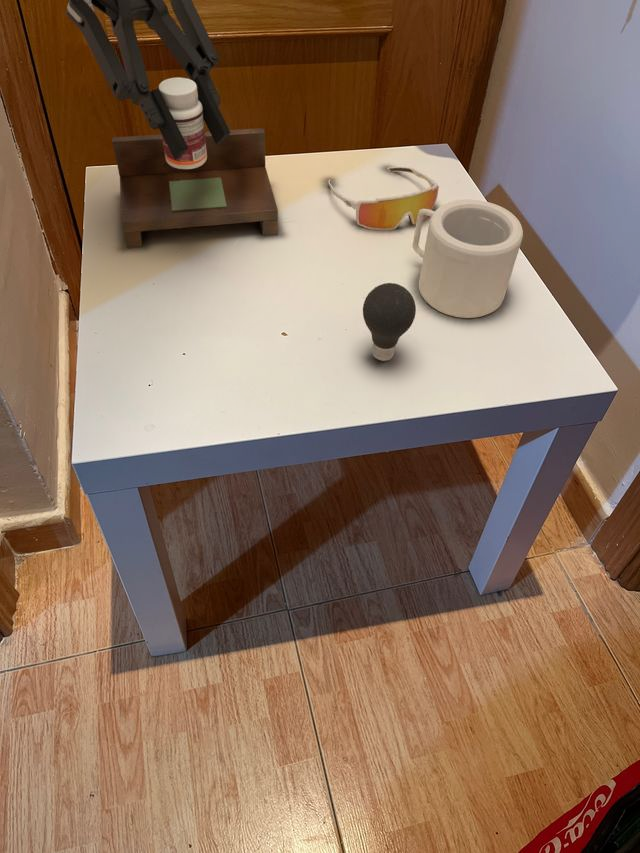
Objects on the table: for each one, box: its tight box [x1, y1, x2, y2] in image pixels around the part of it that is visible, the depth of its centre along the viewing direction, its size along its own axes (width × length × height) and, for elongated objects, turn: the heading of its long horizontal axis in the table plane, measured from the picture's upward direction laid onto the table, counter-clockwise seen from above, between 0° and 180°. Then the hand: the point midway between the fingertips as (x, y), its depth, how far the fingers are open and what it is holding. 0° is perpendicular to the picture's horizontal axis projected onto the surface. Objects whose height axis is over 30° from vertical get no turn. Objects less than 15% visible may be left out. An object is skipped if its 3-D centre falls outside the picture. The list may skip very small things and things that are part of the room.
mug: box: [412, 199, 524, 319], centre depth 83 cm, size 14×11×10 cm
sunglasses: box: [327, 166, 440, 231], centre depth 98 cm, size 14×15×5 cm
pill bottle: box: [158, 76, 207, 169], centre depth 76 cm, size 5×5×8 cm
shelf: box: [112, 127, 279, 249], centre depth 91 cm, size 20×12×9 cm, turn 101°
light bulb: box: [362, 282, 417, 362], centre depth 75 cm, size 6×6×10 cm
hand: (202, 145), depth 75 cm, fingers closed on pill bottle, 5 cm apart
